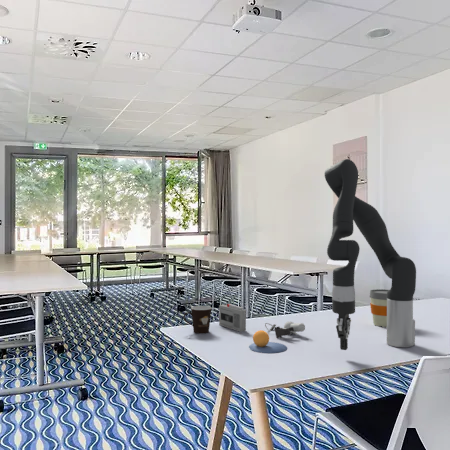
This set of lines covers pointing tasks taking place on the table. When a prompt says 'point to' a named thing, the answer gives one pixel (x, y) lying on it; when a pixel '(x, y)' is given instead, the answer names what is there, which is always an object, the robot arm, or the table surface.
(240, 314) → the cassette player
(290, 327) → the clip-on lamp
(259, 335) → the ball
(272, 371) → the table surface
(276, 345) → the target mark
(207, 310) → the coffee mug
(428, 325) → the table surface
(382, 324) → the reusable coffee cup
